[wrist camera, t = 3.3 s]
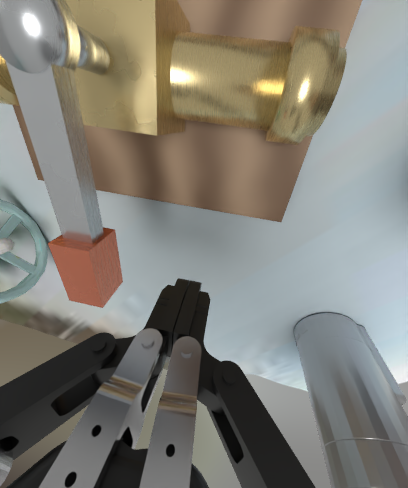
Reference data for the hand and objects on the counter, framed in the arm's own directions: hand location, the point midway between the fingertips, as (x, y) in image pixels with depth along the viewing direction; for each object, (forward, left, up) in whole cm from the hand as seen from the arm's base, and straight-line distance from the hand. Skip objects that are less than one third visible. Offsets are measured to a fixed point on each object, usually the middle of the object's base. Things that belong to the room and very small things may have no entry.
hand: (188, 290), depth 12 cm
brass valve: (+7, -11, -14) cm, 19 cm away
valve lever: (+7, -5, -2) cm, 9 cm away
